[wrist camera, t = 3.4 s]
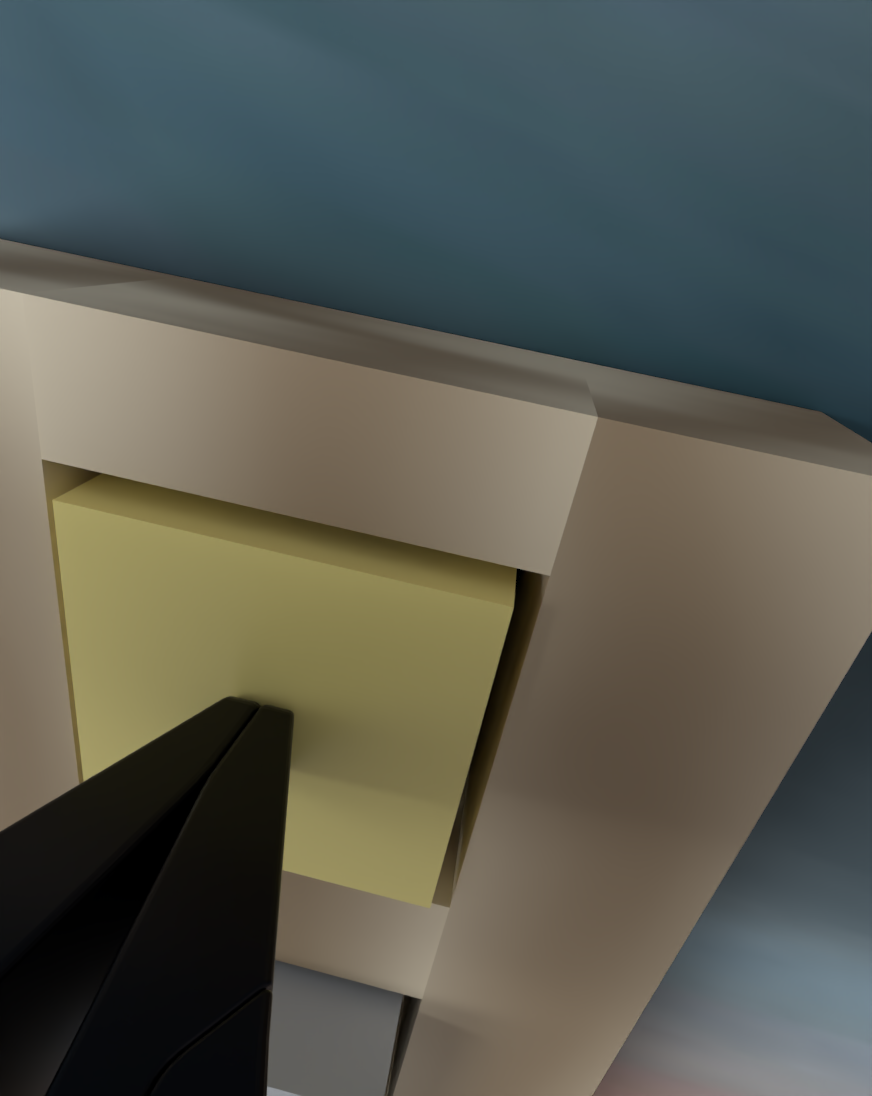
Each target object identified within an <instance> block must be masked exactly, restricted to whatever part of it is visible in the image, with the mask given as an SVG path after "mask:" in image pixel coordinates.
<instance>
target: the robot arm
mask: <svg viewBox="0 0 872 1096" xmlns="http://www.w3.org/2000/svg"><path fill="white" fill-rule="evenodd" d="M293 727H294V713H293V712H292V711H290V710H287V709H283V708H279V707H275V706H270V705H263V706H260V705H259V704H258V703H257V702H254V701H250V700H246V699H242V698H238V697H234V696H228V697H225V698H223V699H221V700H219V701H218V702H216V703H214V704H213V705H211V706H209V707H208V708H206V709H204V710H203V711H201V712H199V713H198V714H196V715H194V716H193V717H191V718H189V719H188V720H186V721H184V722H183V723H181V724H179V725H177V726H176V727H174V728H172V729H171V730H169V731H167V732H166V733H164V734H162V735H161V736H159V737H157V738H156V739H154V740H152V741H151V742H149V743H147V744H146V745H144V746H142V747H141V748H139V749H137V750H136V751H134V752H132V753H131V754H129V755H127V756H126V757H124V758H122V759H121V760H119V761H117V762H116V763H114V764H112V765H111V766H109V767H107V768H106V769H104V770H102V771H101V772H99V773H97V774H95V775H94V776H92V777H90V778H89V779H87V780H85V781H84V782H82V783H80V784H79V785H77V786H75V787H74V788H72V789H70V790H69V791H67V792H65V793H64V794H62V795H60V796H59V797H57V798H55V799H54V800H52V801H50V802H49V803H47V804H45V805H44V806H42V807H40V808H39V809H37V810H35V811H34V812H32V813H30V814H29V815H27V816H25V817H24V818H22V819H20V820H18V821H17V822H15V823H13V824H12V825H10V826H8V827H7V828H5V829H3V830H2V831H0V1096H267V1081H268V1059H269V1039H270V1026H271V1013H272V1000H273V994H272V992H273V982H274V969H275V957H276V944H277V931H278V918H279V906H280V893H281V880H282V867H283V855H284V842H285V829H286V816H287V804H288V791H289V778H290V766H291V753H292V740H293Z"/></svg>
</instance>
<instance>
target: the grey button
mask: <svg viewBox="0 0 872 1096" xmlns="http://www.w3.org/2000/svg"><path fill="white" fill-rule="evenodd" d="M272 994H273V1000H272V1013H271V1026H270V1039H269V1059H268V1081H267V1096H385V1091H386V1085H387V1080H388V1074H389V1069H390V1063H391V1058H392V1052H393V1047H394V1041H395V1036H396V1031H397V1025H398V1020H399V1014H400V1009H401V1003H402V998H403V994H400V993H397V992H393V991H389V990H385V989H382V988H378V987H374V986H371V985H367V984H363V983H359V982H356V981H352V980H348V979H344V978H341V977H337V976H333V975H330V974H326V973H322V972H318V971H315V970H311V969H307V968H304V967H300V966H296V965H292V964H289V963H285V962H281V961H277V960H275V969H274V982H273V992H272Z"/></svg>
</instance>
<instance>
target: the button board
mask: <svg viewBox="0 0 872 1096" xmlns="http://www.w3.org/2000/svg"><path fill="white" fill-rule="evenodd" d="M102 473H104V474H108V475H113V476H117V477H122V478H126V479H130V480H135V481H139V482H143V483H148V484H152V485H156V486H161V487H165V488H169V489H174V490H178V491H182V492H187V493H191V494H196V495H200V496H204V497H209V498H213V499H217V500H222V501H226V502H230V503H235V504H239V505H243V506H248V507H252V508H257V509H261V510H265V511H270V512H274V513H278V514H283V515H287V516H291V517H296V518H300V519H304V520H309V521H313V522H317V523H322V524H326V525H331V526H335V527H339V528H344V529H348V530H352V531H357V532H361V533H365V534H370V535H374V536H378V537H383V538H387V539H392V540H396V541H400V542H405V543H409V544H413V545H418V546H422V547H426V548H431V549H435V550H439V551H444V552H448V553H452V554H457V555H461V556H466V557H470V558H474V559H479V560H483V561H487V562H492V563H496V564H500V565H505V566H509V567H513V568H518V569H522V572H521V576H520V579H519V583H518V587H517V590H516V594H515V600H514V609H513V613H512V616H511V620H510V623H509V627H508V631H507V634H506V638H505V641H504V645H503V648H502V652H501V656H500V659H499V663H498V666H497V670H496V674H495V677H494V681H493V684H492V688H491V691H490V695H489V699H488V702H487V706H486V709H485V713H484V717H483V720H482V724H481V727H480V731H479V734H478V738H477V742H476V745H475V749H474V752H473V756H472V760H471V763H470V767H469V770H468V774H467V777H466V781H465V785H464V788H463V792H462V795H461V799H460V803H459V806H458V810H457V813H456V817H455V820H454V824H453V828H452V831H451V835H450V838H449V842H448V846H447V849H446V853H445V856H444V860H443V863H442V867H441V871H440V874H439V878H438V881H437V885H436V889H435V892H434V896H433V899H432V903H431V906H430V908H426V907H422V906H418V905H415V904H411V903H407V902H403V901H399V900H395V899H392V898H388V897H384V896H380V895H376V894H372V893H369V892H365V891H361V890H357V889H353V888H349V887H346V886H342V885H338V884H334V883H330V882H326V881H323V880H319V879H315V878H311V877H307V876H303V875H300V874H296V873H292V872H288V871H284V870H282V880H281V893H280V906H279V918H278V931H277V944H276V957H275V960H277V961H281V962H285V963H289V964H292V965H296V966H300V967H304V968H307V969H311V970H315V971H318V972H322V973H326V974H330V975H333V976H337V977H341V978H344V979H348V980H352V981H356V982H359V983H363V984H367V985H371V986H374V987H378V988H382V989H385V990H389V991H393V992H397V993H400V994H403V998H402V1003H401V1009H400V1014H399V1020H398V1025H397V1031H396V1036H395V1041H394V1047H393V1052H392V1058H391V1063H390V1069H389V1074H388V1080H387V1085H386V1091H385V1096H592V1095H593V1094H594V1092H595V1090H596V1089H597V1087H598V1085H599V1084H600V1082H601V1080H602V1079H603V1077H604V1075H605V1074H606V1072H607V1070H608V1069H609V1067H610V1065H611V1064H612V1062H613V1060H614V1059H615V1057H616V1055H617V1054H618V1052H619V1050H620V1049H621V1047H622V1045H623V1044H624V1042H625V1040H626V1039H627V1037H628V1035H629V1034H630V1032H631V1030H632V1029H633V1027H634V1025H635V1024H636V1022H637V1020H638V1019H639V1017H640V1015H641V1014H642V1012H643V1010H644V1009H645V1007H646V1005H647V1004H648V1002H649V1001H650V999H651V997H652V996H653V994H654V992H655V991H656V989H657V987H658V986H659V984H660V982H661V981H662V979H663V977H664V976H665V974H666V972H667V971H668V969H669V967H670V966H671V964H672V962H673V961H674V959H675V957H676V956H677V954H678V952H679V951H680V949H681V947H682V946H683V944H684V942H685V941H686V939H687V937H688V936H689V934H690V932H691V931H692V929H693V927H694V926H695V924H696V922H697V921H698V919H699V917H700V916H701V914H702V912H703V911H704V909H705V907H706V906H707V904H708V902H709V901H710V899H711V897H712V896H713V894H714V892H715V891H716V889H717V888H718V886H719V884H720V883H721V881H722V879H723V878H724V876H725V874H726V873H727V871H728V869H729V868H730V866H731V864H732V863H733V861H734V859H735V858H736V856H737V854H738V853H739V851H740V849H741V848H742V846H743V844H744V843H745V841H746V839H747V838H748V836H749V834H750V833H751V831H752V829H753V828H754V826H755V824H756V823H757V821H758V819H759V818H760V816H761V814H762V813H763V811H764V809H765V808H766V806H767V804H768V803H769V801H770V799H771V798H772V796H773V794H774V793H775V791H776V789H777V788H778V786H779V784H780V783H781V781H782V780H783V778H784V776H785V775H786V773H787V771H788V770H789V768H790V766H791V765H792V763H793V761H794V760H795V758H796V756H797V755H798V753H799V751H800V750H801V748H802V746H803V745H804V743H805V741H806V740H807V738H808V736H809V735H810V733H811V731H812V730H813V728H814V726H815V725H816V723H817V721H818V720H819V718H820V716H821V715H822V713H823V711H824V710H825V708H826V706H827V705H828V703H829V701H830V700H831V698H832V696H833V695H834V693H835V691H836V690H837V688H838V686H839V685H840V683H841V681H842V680H843V678H844V676H845V675H846V673H847V671H848V670H849V668H850V667H851V665H852V663H853V662H854V660H855V658H856V657H857V655H858V653H859V652H860V650H861V648H862V647H863V645H864V643H865V642H866V640H867V638H868V637H869V635H870V633H871V632H872V443H871V442H869V441H868V440H866V439H864V438H863V437H861V436H860V435H858V434H856V433H855V432H853V431H851V430H850V429H848V428H847V427H845V426H843V425H842V424H840V423H838V422H837V421H835V420H834V419H832V418H830V417H829V416H827V415H825V414H824V413H822V412H819V411H815V410H810V409H805V408H800V407H796V406H791V405H786V404H781V403H777V402H772V401H767V400H762V399H758V398H753V397H748V396H743V395H739V394H734V393H729V392H724V391H720V390H715V389H710V388H705V387H701V386H696V385H691V384H686V383H682V382H677V381H672V380H667V379H663V378H658V377H653V376H649V375H644V374H639V373H634V372H630V371H625V370H620V369H615V368H611V367H606V366H601V365H596V364H592V363H587V362H582V361H577V360H573V359H568V358H563V357H558V356H554V355H549V354H544V353H539V352H535V351H530V350H525V349H520V348H516V347H511V346H506V345H501V344H497V343H492V342H487V341H482V340H478V339H473V338H468V337H463V336H459V335H454V334H449V333H444V332H440V331H435V330H430V329H426V328H421V327H416V326H411V325H407V324H402V323H397V322H392V321H388V320H383V319H378V318H373V317H369V316H364V315H359V314H354V313H350V312H345V311H340V310H335V309H331V308H326V307H321V306H316V305H312V304H307V303H302V302H297V301H293V300H288V299H283V298H278V297H274V296H269V295H264V294H259V293H255V292H250V291H245V290H240V289H236V288H231V287H226V286H222V285H217V284H212V283H207V282H203V281H198V280H193V279H188V278H184V277H179V276H174V275H169V274H165V273H160V272H155V271H150V270H146V269H141V268H136V267H131V266H127V265H122V264H117V263H112V262H108V261H103V260H98V259H93V258H89V257H84V256H79V255H74V254H70V253H65V252H60V251H55V250H51V249H46V248H41V247H36V246H32V245H27V244H22V243H17V242H13V241H8V240H3V239H0V831H2V830H3V829H5V828H7V827H8V826H10V825H12V824H13V823H15V822H17V821H18V820H20V819H22V818H24V817H25V816H27V815H29V814H30V813H32V812H34V811H35V810H37V809H39V808H40V807H42V806H44V805H45V804H47V803H49V802H50V801H52V800H54V799H55V798H57V797H59V796H60V795H62V794H64V793H65V792H67V791H69V790H70V789H72V788H74V787H75V786H77V785H79V784H80V783H82V782H84V781H83V772H82V763H81V754H80V745H79V736H78V727H77V718H76V709H75V700H74V691H73V682H72V673H71V664H70V655H69V646H68V637H67V628H66V619H65V610H64V601H63V592H62V583H61V574H60V565H59V556H58V547H57V538H56V529H55V520H54V511H53V502H52V500H53V499H55V498H57V497H59V496H61V495H63V494H65V493H66V492H68V491H70V490H72V489H74V488H76V487H78V486H80V485H81V484H83V483H85V482H87V481H89V480H91V479H93V478H95V477H96V476H98V475H100V474H102Z"/></svg>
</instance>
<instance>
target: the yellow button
mask: <svg viewBox="0 0 872 1096" xmlns="http://www.w3.org/2000/svg"><path fill="white" fill-rule="evenodd" d="M52 502H53V511H54V520H55V529H56V538H57V547H58V556H59V565H60V574H61V583H62V592H63V601H64V610H65V619H66V628H67V637H68V646H69V655H70V664H71V673H72V682H73V691H74V700H75V709H76V718H77V727H78V736H79V745H80V754H81V763H82V772H83V781H85V780H87V779H89V778H90V777H92V776H94V775H95V774H97V773H99V772H101V771H102V770H104V769H106V768H107V767H109V766H111V765H112V764H114V763H116V762H117V761H119V760H121V759H122V758H124V757H126V756H127V755H129V754H131V753H132V752H134V751H136V750H137V749H139V748H141V747H142V746H144V745H146V744H147V743H149V742H151V741H152V740H154V739H156V738H157V737H159V736H161V735H162V734H164V733H166V732H167V731H169V730H171V729H172V728H174V727H176V726H177V725H179V724H181V723H183V722H184V721H186V720H188V719H189V718H191V717H193V716H194V715H196V714H198V713H199V712H201V711H203V710H204V709H206V708H208V707H209V706H211V705H213V704H214V703H216V702H218V701H219V700H221V699H223V698H225V697H228V696H234V697H238V698H242V699H246V700H250V701H254V702H257V703H258V704H259V705H260V706H263V705H270V706H275V707H279V708H283V709H287V710H290V711H292V712H293V713H294V727H293V740H292V753H291V766H290V778H289V791H288V804H287V816H286V829H285V842H284V855H283V867H282V870H284V871H288V872H292V873H296V874H300V875H303V876H307V877H311V878H315V879H319V880H323V881H326V882H330V883H334V884H338V885H342V886H346V887H349V888H353V889H357V890H361V891H365V892H369V893H372V894H376V895H380V896H384V897H388V898H392V899H395V900H399V901H403V902H407V903H411V904H415V905H418V906H422V907H426V908H430V906H431V903H432V899H433V896H434V892H435V889H436V885H437V881H438V878H439V874H440V871H441V867H442V863H443V860H444V856H445V853H446V849H447V846H448V842H449V838H450V835H451V831H452V828H453V824H454V820H455V817H456V813H457V810H458V806H459V803H460V799H461V795H462V792H463V788H464V785H465V781H466V777H467V774H468V770H469V767H470V763H471V760H472V756H473V752H474V749H475V745H476V742H477V738H478V734H479V731H480V727H481V724H482V720H483V717H484V713H485V709H486V706H487V702H488V699H489V695H490V691H491V688H492V684H493V681H494V677H495V674H496V670H497V666H498V663H499V659H500V656H501V652H502V648H503V645H504V641H505V638H506V634H507V631H508V627H509V623H510V620H511V616H512V613H513V609H514V600H515V586H516V573H517V568H513V567H509V566H505V565H500V564H496V563H492V562H487V561H483V560H479V559H474V558H470V557H466V556H461V555H457V554H452V553H448V552H444V551H439V550H435V549H431V548H426V547H422V546H418V545H413V544H409V543H405V542H400V541H396V540H392V539H387V538H383V537H378V536H374V535H370V534H365V533H361V532H357V531H352V530H348V529H344V528H339V527H335V526H331V525H326V524H322V523H317V522H313V521H309V520H304V519H300V518H296V517H291V516H287V515H283V514H278V513H274V512H270V511H265V510H261V509H257V508H252V507H248V506H243V505H239V504H235V503H230V502H226V501H222V500H217V499H213V498H209V497H204V496H200V495H196V494H191V493H187V492H182V491H178V490H174V489H169V488H165V487H161V486H156V485H152V484H148V483H143V482H139V481H135V480H130V479H126V478H122V477H117V476H113V475H108V474H104V473H102V474H100V475H98V476H96V477H95V478H93V479H91V480H89V481H87V482H85V483H83V484H81V485H80V486H78V487H76V488H74V489H72V490H70V491H68V492H66V493H65V494H63V495H61V496H59V497H57V498H55V499H53V500H52Z"/></svg>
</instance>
